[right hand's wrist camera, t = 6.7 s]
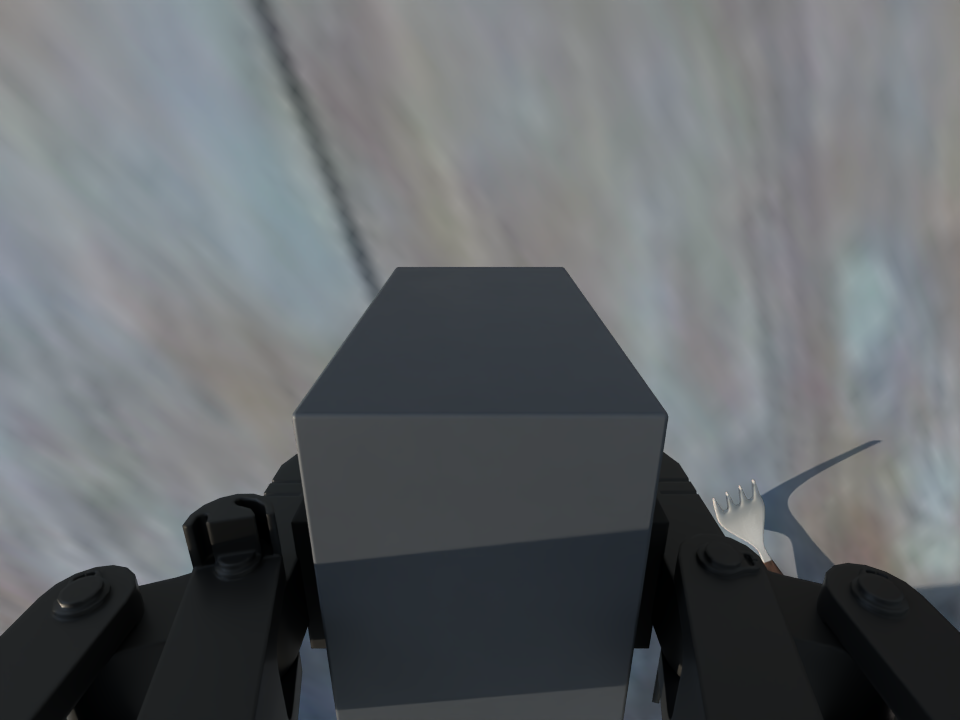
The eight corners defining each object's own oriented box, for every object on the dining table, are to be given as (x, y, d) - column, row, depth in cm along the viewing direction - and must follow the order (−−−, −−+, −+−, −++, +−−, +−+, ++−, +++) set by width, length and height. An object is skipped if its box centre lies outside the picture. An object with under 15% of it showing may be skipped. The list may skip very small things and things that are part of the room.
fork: (794, 658, 34) (812, 688, 32) (694, 478, 29) (709, 501, 27) (834, 642, 33) (855, 672, 31) (740, 456, 28) (758, 478, 26)
